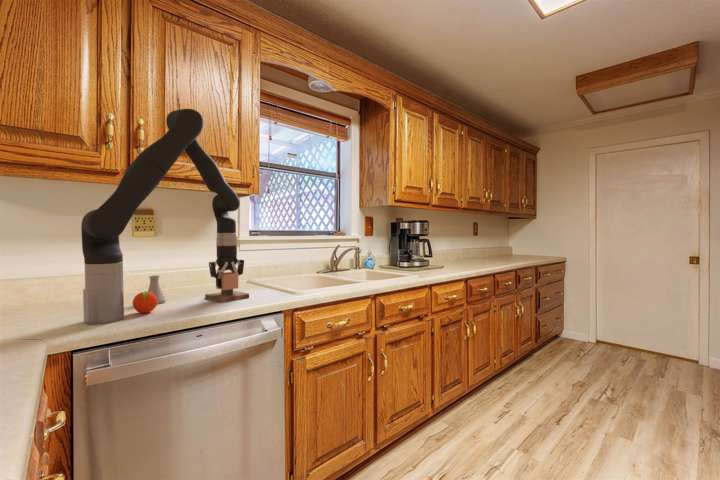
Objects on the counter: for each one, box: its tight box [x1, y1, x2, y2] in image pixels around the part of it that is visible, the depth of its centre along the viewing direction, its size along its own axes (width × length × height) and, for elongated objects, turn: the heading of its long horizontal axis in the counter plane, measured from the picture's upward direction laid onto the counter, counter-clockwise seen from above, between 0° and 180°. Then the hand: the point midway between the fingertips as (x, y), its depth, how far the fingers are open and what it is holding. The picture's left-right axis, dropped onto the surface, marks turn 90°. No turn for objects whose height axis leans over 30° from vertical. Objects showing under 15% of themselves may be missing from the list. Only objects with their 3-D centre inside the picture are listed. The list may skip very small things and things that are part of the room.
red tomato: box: [132, 291, 158, 314], centre depth 113 cm, size 8×7×7 cm
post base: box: [204, 289, 250, 303], centre depth 138 cm, size 12×12×8 cm
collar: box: [215, 271, 239, 291], centre depth 138 cm, size 6×6×6 cm
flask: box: [147, 274, 167, 305], centre depth 129 cm, size 7×7×10 cm
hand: (227, 286), depth 138 cm, fingers closed on collar, 6 cm apart
